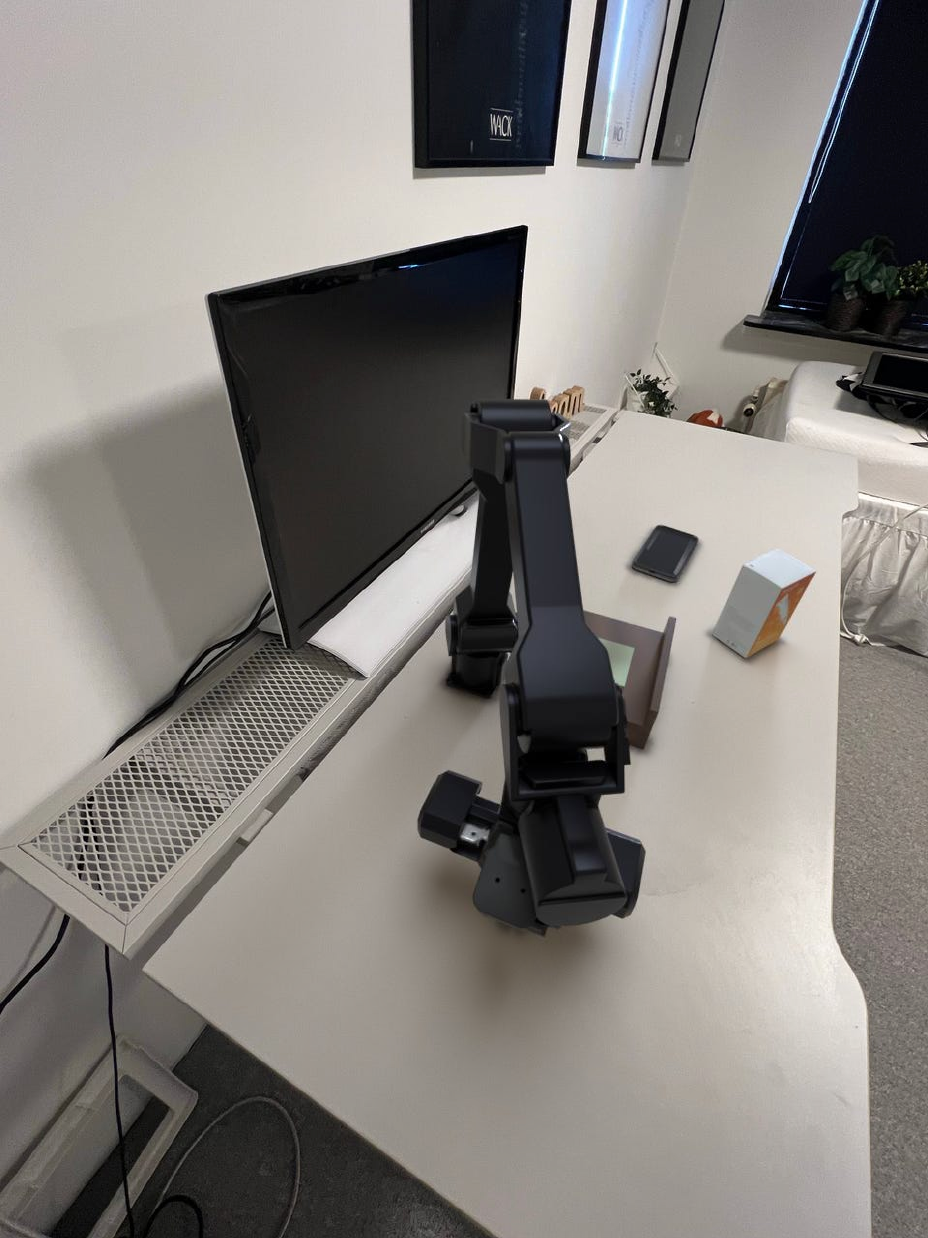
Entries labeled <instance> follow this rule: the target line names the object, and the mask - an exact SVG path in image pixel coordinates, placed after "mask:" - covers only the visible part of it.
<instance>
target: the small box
mask: <svg viewBox="0 0 928 1238" xmlns="http://www.w3.org/2000/svg"><path fill="white" fill-rule="evenodd" d="M816 573H817V570H816V569H814V568H812V567H810V566H809V565H807V564H805V563H804V562H802V561H800V560H799V559H797V558H795V557H793V556H792V555H790V554H789V553H787V552H785V551H783V550H781V549H780V548H776V549H773V550H771V551H769V552H766V553H764V554H762V555H759V556H757V557H756V558H754V559H752V560H750V561H748V562H746V563H743V564H742V566H741V568H740V570H739V573H738V575H737V577H736V579H735V581H734V583H733V585H732V588H731V589H730V592H729V594H728V597H727V598H726V602H725V604H724V606H723V609H722V610H721V613H720V615H719V616H718V619H717V621H716V624H715V625H714V627H713V630H712V632H711V635H712V636H714V637H715V638H716V639H718V640H719V641H721V642H722V643H723V644H725V645H726V646H727V647H728V648H730V649H732V650H733V651H734V652H736V653H737V654H739V655H740V656H742V657H743V658H744V659H749V658H750V657H751V656H753V655H755V654H756V653H758V652H759V651H761V650H763V649H764V648H766V647H768V646H770V645H771V644H773V643H775V642H778V641H779V640H780V639H781V638H780V637H781V636H782V634H783V632H784V630H785V629H786V627H787V626H788V623H789V621H790V620H791V618H792V616H793V614H794V612H795V611H796V609H797V607H798V606H799V603H800V601H801V600H802V598H803V597H804V595H805V592H806V591H807V589H808V588H809V586H810V584H811V582H812V580H813V578H814V576H815V575H816Z"/></svg>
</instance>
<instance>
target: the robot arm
mask: <svg viewBox="0 0 928 1238" xmlns="http://www.w3.org/2000/svg"><path fill="white" fill-rule="evenodd" d="M571 422H572V421H570V420H569V419H568V418H566V417H565V416H564V415H562V414H561V413H560V412H552V409H551V405H550V402H549V401H548V399H542V398H539V399H538V398H535V399H534V398H477V399H476V401H475V402H472V403H471V404H470V405H469V408H468V412H463V413H462V416H461V428H460V430H461V431H460V434H461V435H460V439H461V451H462V455H463V457H464V459H465V461H466V463H467V465H468V467H469V472H470V477H471V481H472V483H473V485H474V487H475V488H476V489H477V491H478V493H479V494H478V501H477V511H476V513H477V514H476V520H475V521H476V523H475V532H474V542H473V550H472V551H473V552H472V560H471V570H470V580H469V584H468V586H466V587H465V588H464V589H462V591H461V592H460V593H458V594H457V595H456V596H455V598H454V603H453V609H452V610H453V611H452V614H448V615H446V616H445V618H444V621H445V622H444V632H445V633H444V634H445V640H446V647H447V656H448V657H451V659H450V672H449V674H448V675H447V677H446V679H445V685H447V686H449V687H452V688H455V689H458V690H460V691H464V692H467V693H470V694H473V695H476V696H479V697H483V698H485V699H491V698H492V697H493V696H494V694H495V691H496V690H497V688H499V687H500V688H499V694H498V709H499V723H500V733H501V734H500V735H501V745H502V746H501V747H502V757H503V759H502V760H503V769H504V781H503V787H502V792H501V799H500V803H498V802H496V801H493V800H490V799H487V798H484V797H483V796H479V795H480V794H481V792H482V790H483V781H480V780H477V779H476V778H472V777H469V776H467V775H464V774H461V773H458V772H456V771H453V770H450V769H448V770H446V771H444V772H441V773H440V774H438V775H437V777H436V779H435V781H434V783H433V784H432V787H431V788H430V791H429V793H428V794H427V796H426V798H425V800H424V802H423V804H422V806H421V807H420V810H419V813H418V817H417V819H416V823H417V824H416V825H417V826H416V829H417V832H418V835H419V838H421V839H423V840H425V841H428V842H430V843H433V844H435V845H438V846H440V847H443V848H445V849H449V851H450V852H452V853H454V854H456V855H459V856H460V857H464V858H466V859H468V860H470V861H473V862H475V863H477V864H478V866H479V868H480V872H479V874H478V877H477V881H476V883H475V887H474V889H473V893H472V903H473V905H474V907H475V909H476V910H477V912H479V913H480V915H482V916H484V917H486V918H489V919H492V920H494V921H496V922H499V923H500V924H503V925H505V926H508V927H511V928H512V929H515V930H517V931H520V932H526V931H528V932H530V933H533V934H534V935H537V936H541V937H542V938H545V937H546V934H547V931H548V929H550V928H551V929H554V930H556V931H559V930H561V929H562V927H576V926H582V925H587V924H591V923H594V922H597V921H600V920H602V919H606V918H608V917H609V916H611V915H612V916H614V917H617V918H619V919H622V920H623V919H625V918H627V917H629V916H631V915H632V914H633V911H634V910H635V908H636V906H637V902H638V899H639V895H640V888H641V883H642V877H643V871H644V866H645V860H646V853H647V852H646V848H645V847H644V845H643V842H642V841H641V839H638V838H636V837H633V836H630V835H628V834H624V833H622V832H619V831H616V830H614V829H612V828H609V827H606V825H605V822H604V819H603V817H602V813H601V810H600V807H599V805H600V801H601V798H602V796H609V795H623V794H625V791H626V781H625V780H626V777H625V776H626V775H625V774H626V773H625V772H626V771H625V770H626V769H625V766H631V765H632V762H631V752H630V750H631V749H630V745H629V737H628V725H627V714H626V703H625V698H624V696H623V695H622V689H621V688H620V687H619V685H618V683H617V681H616V680H615V679H614V678H613V673H612V668H611V663H610V658H609V653H608V650H607V648H606V647H605V646H604V645H603V643H602V642H601V641H600V640H599V638H598V637H597V636H596V635H595V634H594V632H593V631H592V630H591V629H590V627H589V626H588V625H587V624H586V621H585V616H584V611H583V610H584V605H583V597H582V590H581V582H580V581H581V580H580V573H579V566H578V565H579V564H578V558H577V548H576V541H575V534H574V525H573V517H572V510H571V509H572V508H571V501H570V493H569V487H568V477H569V474H570V469H571V462H572V460H571V459H572V453H571V451H572V450H571V443H570V433H571V432H570V431H571V424H572V423H571ZM512 579H513V585H514V594H515V595H514V596H515V602H514V599H513V595H512V594H511V592H510V591H511V590H510V589H511V585H512ZM509 654H510V655H509ZM504 680H505V683H503V681H504ZM597 749H603V755H604V759H591V760H589V755H588V750H597Z"/></svg>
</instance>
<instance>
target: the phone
mask: <svg viewBox="0 0 928 1238" xmlns="http://www.w3.org/2000/svg"><path fill="white" fill-rule="evenodd" d="M698 542H699V537H698V536H697V535H695V534H692V533H689V532H687V531H683V530H679V529H677V528H674V527H670V526H667V525H664V524H657V525H656V526H655V528H654V529H653V530H652V532H651V533H650V534H649V536H648V537H647V539H646V541H645V542H644V543H643V545H642V546H641V548H640V549H639V551H637V554H636V555H635V557H634V558H633V560H632V564H631V568H632V569H634V570H636V571H638V572H641V573H644V574H645V575H646V574H647V575H649V576H651V577H655V578H657V579H661V580H663V581H666V582H669V583H675V582H678V580H679V577H680V576H681V574H682V572H683V571H684V569H685V567H686V565H687V563H688V561H690V557H691V556H692V554H693V553H694V551H695V549H696V547H697V545H698Z"/></svg>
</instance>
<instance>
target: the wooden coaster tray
mask: <svg viewBox="0 0 928 1238" xmlns="http://www.w3.org/2000/svg"><path fill="white" fill-rule="evenodd" d="M583 611H584V616H585V621H586V624H587V625H588V626H589V627H590V629H591V630H592V631H593V632H594V634H595V635H596V636H597V637H598V638H599V640H600V641H601V642H602V643H603V645H604V646H605V647H606V648H607V650H608V653H609V658H610V663H611V668H612V673H613V678H614V679H615V680H616V681H617V683H618V685H619V687H620V688H621V689H622V695H623V696H624V698H625V703H626V714H627V725H628V737H629V746H632V747H636V748H638V749H642V750H644V749H645V748H646V744H647V742H648V739H649V737H650V735H651V732H652V730H653V728H654V725H655V723H656V720H657V718H658V715H659V713H660V708H661V702H662V697H663V692H664V688H665V687H664V686H665V681H666V678H667V677H666V676H667V671H668V665H669V660H670V655H671V650H672V644H673V639H674V634H675V630H676V629H675V628H676V623H677V617H675V616H674V617H673V616H668V619H667V622H666V624H665V626H664V628H663V631H660V630H656V629H652V628H650V627H646V626H641V625H638V624H635V623H631V622H628V621H624V620H620V619H617V618H613V617H610V616H606V615H603V614H599V613H595V612H591V611H588V610H585V609H583Z"/></svg>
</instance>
